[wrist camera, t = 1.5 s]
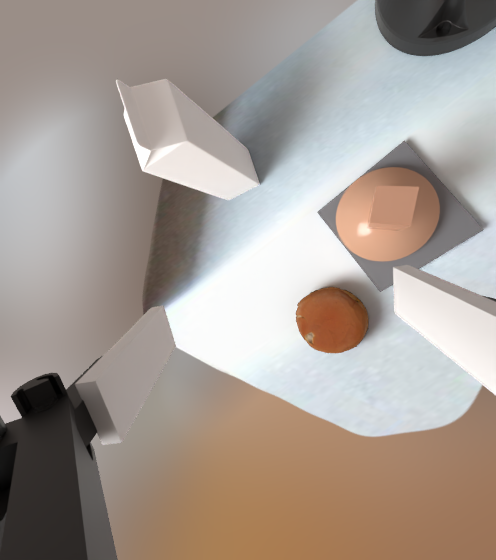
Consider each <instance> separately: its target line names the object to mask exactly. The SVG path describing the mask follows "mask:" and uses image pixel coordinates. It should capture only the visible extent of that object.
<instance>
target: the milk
mask: <svg viewBox="0 0 496 560" xmlns="http://www.w3.org/2000/svg"><path fill="white" fill-rule="evenodd" d="M116 83H117V86H118V90H119V92H120V95H121V98H122V101H123V104H124V107H125V110H124V117H125V120H126V124H127V127H128V129H129V132H130V135H131V139H132V142H133V144H134V147H135V150H136V153H137V156H138V159H139V162H140V165H141V168H142V171H144V172H147V173H150V174H153V175H155V176H158V177H161V178H164V179H167V180H170V181H173V182H176V183H179V184H182V185H185V186H188V187H191V188H194V189H196V190H199V191H202V192H205V193H208V194H211V195H214V196H217V197H220V198H223V199H226V200H231V199H233V198H235V197H237V196H239V195H241V194H243V193H245V192H247V191H249V190H251V189H253V188H255V187H257V186H259V185H260V183H259V180H258V177H257V174H256V171H255V168H254V165H253V162H252V159H251V156H250V153H249V150H248V149H247V148H246V147H245V146H244V145H243V144H241V143H240V142H239V141H238V140H237V139H236V138H235V137H233V136H232V135H231V134H230V133H229V132H228V131H227V130H225V129H224V128H223V127H222V126H221V125H220V124H219V123H217V122H216V121H215V120H214V119H213V118H212V117H210V116H209V115H208V114H207V113H206V112H205V111H203V110H202V109H201V108H200V107H199V106H198V105H197V104H196V103H194V102H193V101H192V100H191V99H190V98H188V97H187V96H186V95H185V94H184V93H183V92H182V91H181V90H179V89H178V88H177V87H176V86H175V85H174V84H173V83H171V82H170V81H169V80H168V79H163V80H159V81H154V82H150V83H146V84H141V85H137V86H133V87H129V86H127V85H126V84H125V83H123V82H122V81H120V80H119V79H117V80H116Z"/></svg>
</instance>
